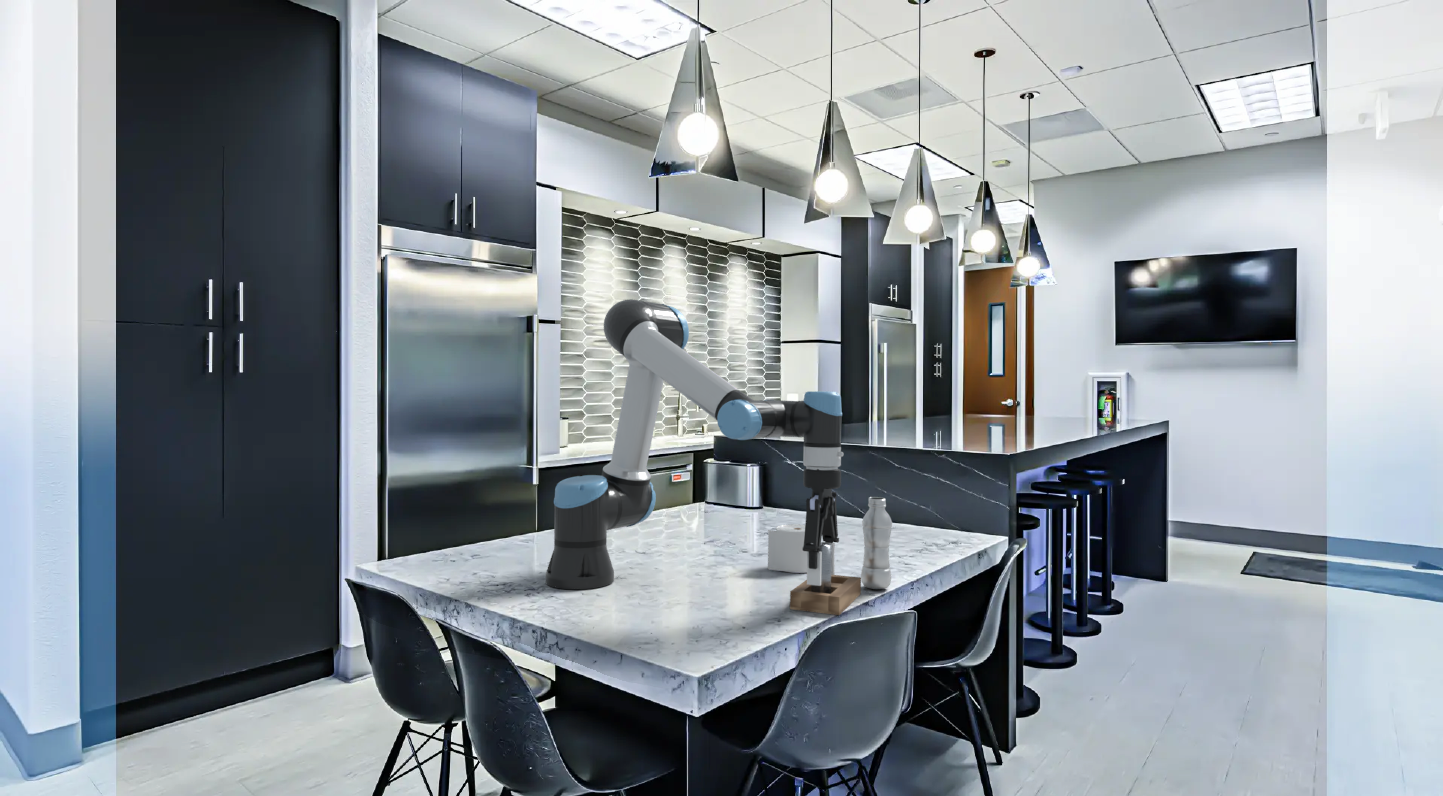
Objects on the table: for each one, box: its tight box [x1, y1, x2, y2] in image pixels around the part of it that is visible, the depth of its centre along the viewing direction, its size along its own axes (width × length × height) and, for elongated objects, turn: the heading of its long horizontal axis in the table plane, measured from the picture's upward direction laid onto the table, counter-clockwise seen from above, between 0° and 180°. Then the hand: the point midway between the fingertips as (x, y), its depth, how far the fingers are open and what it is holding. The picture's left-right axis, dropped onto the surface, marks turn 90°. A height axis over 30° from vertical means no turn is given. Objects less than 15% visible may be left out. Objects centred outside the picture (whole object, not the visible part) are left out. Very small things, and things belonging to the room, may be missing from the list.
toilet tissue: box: [767, 523, 807, 574], centre depth 191 cm, size 11×12×10 cm
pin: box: [811, 543, 832, 594], centre depth 157 cm, size 4×4×12 cm
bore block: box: [789, 574, 862, 616], centre depth 161 cm, size 10×18×4 cm, turn 157°
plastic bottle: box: [860, 496, 893, 590], centre depth 172 cm, size 6×7×20 cm
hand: (821, 579), depth 157 cm, fingers open, 9 cm apart
